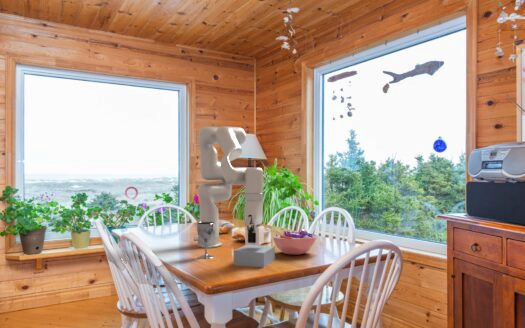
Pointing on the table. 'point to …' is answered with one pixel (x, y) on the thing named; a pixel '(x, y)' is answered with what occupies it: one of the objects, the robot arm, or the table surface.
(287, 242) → the cell model
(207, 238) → the wine glass
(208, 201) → the robot arm
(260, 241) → the cream matte cube
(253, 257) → the base box
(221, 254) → the table surface
